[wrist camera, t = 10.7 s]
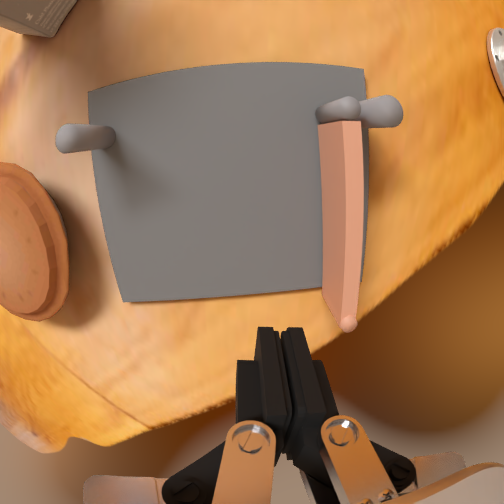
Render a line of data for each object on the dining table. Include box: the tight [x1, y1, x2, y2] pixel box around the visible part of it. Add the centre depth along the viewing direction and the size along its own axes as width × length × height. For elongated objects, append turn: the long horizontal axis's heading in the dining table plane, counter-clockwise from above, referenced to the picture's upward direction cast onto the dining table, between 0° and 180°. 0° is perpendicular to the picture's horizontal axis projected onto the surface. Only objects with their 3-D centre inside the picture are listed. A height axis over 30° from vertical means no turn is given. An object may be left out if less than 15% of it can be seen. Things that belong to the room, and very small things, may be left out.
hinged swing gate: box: [56, 62, 403, 302], centre depth 18 cm, size 22×18×6 cm
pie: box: [0, 162, 69, 321], centre depth 18 cm, size 16×16×5 cm
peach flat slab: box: [315, 96, 364, 332], centre depth 18 cm, size 16×1×5 cm, turn 5°
